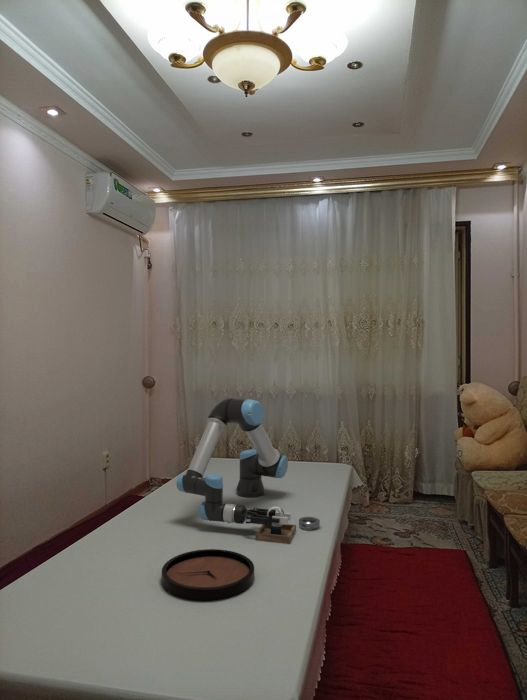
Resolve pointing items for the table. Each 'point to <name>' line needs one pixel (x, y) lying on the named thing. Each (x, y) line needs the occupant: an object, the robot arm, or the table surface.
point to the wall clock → (207, 575)
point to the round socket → (309, 523)
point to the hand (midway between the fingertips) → (289, 518)
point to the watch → (276, 527)
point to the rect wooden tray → (285, 536)
